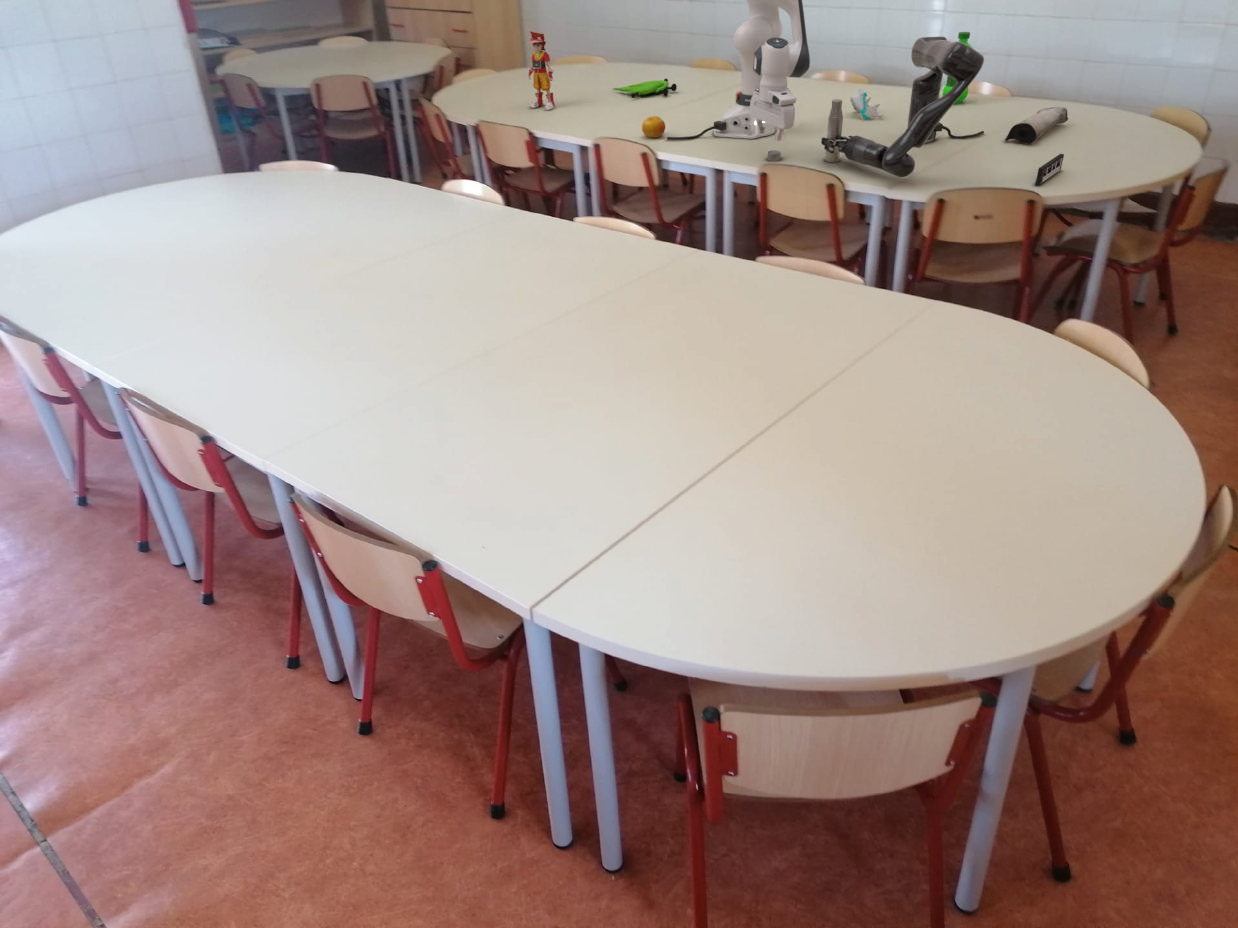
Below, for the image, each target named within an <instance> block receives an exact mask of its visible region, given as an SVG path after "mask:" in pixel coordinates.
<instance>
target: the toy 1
mask: <svg viewBox="0 0 1238 928" xmlns="http://www.w3.org/2000/svg"><path fill="white" fill-rule="evenodd" d="M529 33H530V35H531V36H528V37H527V38H528V39H529V40H528V41H527V43H529V44H530V43H531V44H532V48H533V50H534V51H533V52H532V55H531V58H530V59H531V63H530V66H528V74H527V75H528V76H527V77H528V79H529V80H531V75H532V74H533V84H532V85H533V86H532V87H533V88H534V89H535V90H536V92H534V95H535V97H536V100H535V101H533V102H531V105H530V108H531V109H535V108H538V107H542V106H544V101H543V100H544V99H543V95H544V92H546V94H545V97H546V99H547V103H546V104H545V106H544V110H546V111H549V110H553V109H554V107H555V106H556V105H555V99H554V92H551V91H550V90H551V86H552V84H551V82H552V81H553V80H554V77H553V73H554V71H555V70H554V69H552V68H551V63H550V61H551V59H550V58H551V57H550V54H549V53H548V52H547V50H546V48H545V46H546V44H547V41H545V35H544V33H543V32H542V33H539V32H535V31H529Z"/></svg>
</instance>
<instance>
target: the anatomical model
mask: <svg viewBox="0 0 1238 928" xmlns="http://www.w3.org/2000/svg"><path fill="white" fill-rule="evenodd" d="M866 97H867V98H866ZM871 99H872V98H871V97H870V96H869V97H868V94H867V92H866V91H864V90H863V89H862V88H861V89H859V90H858V92H857V93H856V94H853V95H851V96H850V102H851V106H852V107H853V110H854V111H856V112H860V114H861V116H862V117H863V119H864V120H871V119H873V118H879V119H880V118H883V117H884V116H885V115H884V113H879V112H878V111H877V110H878V108H879V107H880V106H881V104H880V103H875V104H874V105H869V102H870V101H871Z"/></svg>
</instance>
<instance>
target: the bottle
mask: <svg viewBox="0 0 1238 928" xmlns="http://www.w3.org/2000/svg"><path fill="white" fill-rule="evenodd" d="M842 107H843V100H842V99H839V98H835V99H832V100H831V109H830V110H829V115H828V120H827V132H826V138H828V139H831V140H835V139H839V140H841V136H842V134H843V123H844V122H843V121H844V114H843V109H842ZM832 144H833V143H832ZM837 144H838V142H837ZM840 157H841V152H839V151H834V153H830V152H828V151H827V150H825V156H824V158H825V159H824V161H825V162H827V163H837V162H839V161H840Z"/></svg>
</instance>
